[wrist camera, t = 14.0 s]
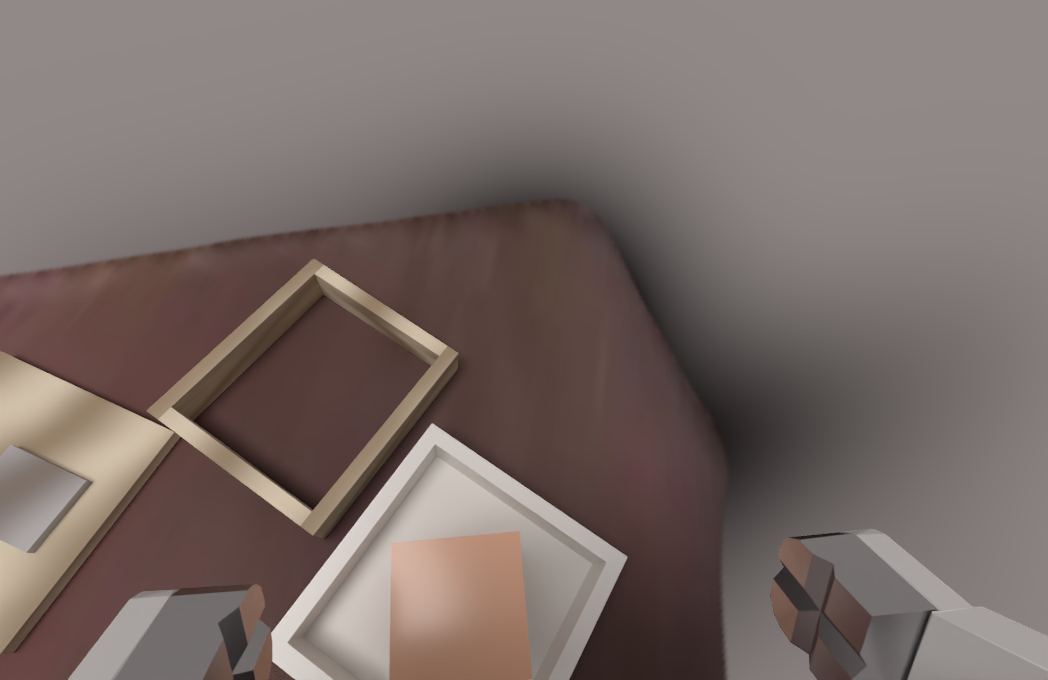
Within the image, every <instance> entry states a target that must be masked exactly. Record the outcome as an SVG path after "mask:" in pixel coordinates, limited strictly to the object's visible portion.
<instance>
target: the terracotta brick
mask: <svg viewBox="0 0 1048 680" xmlns="http://www.w3.org/2000/svg"><path fill="white" fill-rule="evenodd" d="M531 679H532V669H531V658H530V647H529V635H528V624H527V612H526V601H525V589H524V578H523V567H522V555H521V544H520V532H519V531H516V532H505V533H494V534H484V535H473V536H462V537H452V538H441V539H430V540H420V541H409V542H398V543H391V604H390V665H389V680H531Z"/></svg>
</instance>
